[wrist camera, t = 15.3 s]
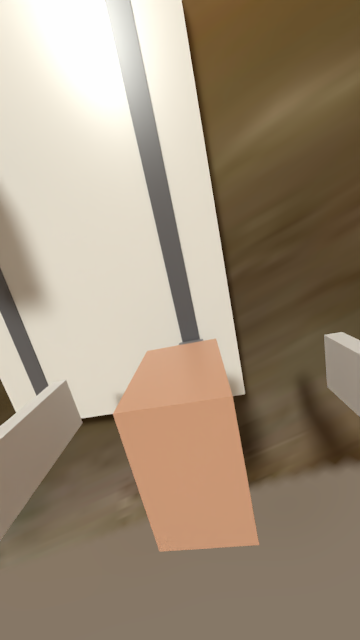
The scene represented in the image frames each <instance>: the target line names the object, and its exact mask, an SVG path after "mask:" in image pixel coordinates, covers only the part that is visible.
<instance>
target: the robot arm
mask: <svg viewBox="0 0 360 640" xmlns="http://www.w3.org/2000/svg"><path fill="white" fill-rule="evenodd" d="M324 340H325V357H326V375H327V387H328V388H329V389H330V390H331V391H332V392H333V393H334V394H335V395H337V396H338V397H339V398H340V399H341V400H342V401H343V402H344V403H345V404H346V405H347V406H348V407H350V408H351V409H352V410H353V411H354V412H355V413H356V414H357V415H358V416H359V417H360V340H358V339H356V338H354V337H352V336H349V335H347V334H345V333H343V332H339V333H333V334H327V335H324ZM82 423H83V422H82V420H81V417H80V415H79V412H78V409H77V407H76V404H75V402H74V399H73V396H72V394H71V391H70V389H69V386H68V383H67V381H66V380H61V381H56V382H52V383H51V384H50V385H49V386H48V387H46V388H45V389H44V390H43V391H42V392H41V393H39V394H38V395H37V396H36V397H35V398H33V399H32V400H31V401H30V402H29V403H27V404H26V405H25V406H24V407H23V408H21V409H20V410H19V411H18V412H17V413H16V414H14V415H13V416H12V417H11V418H10V419H8V420H7V421H6V422H5V423H4V424H2V425H1V426H0V540H1V539H2V537H3V536H4V534H5V533H6V531H7V530H8V529H9V527H10V526H11V524H12V523H13V521H14V520H15V519H16V517H17V516H18V514H19V513H20V511H21V510H22V509H23V507H24V506H25V504H26V503H27V501H28V500H29V499H30V497H31V496H32V494H33V493H34V491H35V490H36V489H37V487H38V486H39V484H40V483H41V481H42V480H43V479H44V477H45V476H46V474H47V473H48V471H49V470H50V469H51V467H52V466H53V464H54V463H55V461H56V460H57V459H58V457H59V456H60V454H61V453H62V451H63V450H64V449H65V447H66V446H67V444H68V443H69V441H70V440H71V439H72V437H73V436H74V434H75V433H76V431H77V430H78V429H79V427H80V426H81V424H82Z"/></svg>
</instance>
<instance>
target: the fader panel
mask: <svg viewBox="0 0 360 640" xmlns="http://www.w3.org/2000/svg"><path fill="white" fill-rule="evenodd" d="M198 339H203V341H205V340H210V339H216V340H217V343H218V347H219V350H220V354H221V357H222V361H223V364H224V368H225V371H226V375H227V378H228V382H229V385H230V389H231V392H232V396H237V395H244V394H245V389H244V383H243V377H242V371H241V364H240V358H239V352H238V346H237V340H236V334H235V327H234V321H233V315H232V309H231V303H230V297H229V290H228V284H227V278H226V272H225V266H224V259H223V253H222V247H221V241H220V235H219V229H218V222H217V216H216V210H215V204H214V198H213V192H212V185H211V179H210V173H209V167H208V161H207V154H206V148H205V142H204V136H203V130H202V124H201V117H200V111H199V105H198V99H197V93H196V87H195V80H194V74H193V68H192V62H191V56H190V50H189V43H188V37H187V31H186V25H185V19H184V12H183V6H182V0H0V379H1V381H2V383H3V385H4V387H5V390H6V392H7V394H8V396H9V398H10V400H11V402H12V405H13V407H14V409H15V411H16V413H17V412H18V411H19V410H20V409H21V408H23V407H24V406H25V405H26V404H27V403H29V402H30V401H31V400H32V399H33V398H35V397H36V396H37V395H38V394H39V393H41V392H42V391H43V390H44V389H45V388H46V387H48V386H49V385H50V384H51V383H52V382H56V381H61V380H66V381H67V383H68V386H69V389H70V391H71V394H72V396H73V399H74V402H75V404H76V407H77V409H78V412H79V415H80V417H81V418H88V417H95V416H101V415H108V414H113V413H114V411H115V409H116V407H117V405H118V403H119V402H120V400H121V398H122V396H123V394H124V392H125V391H126V389H127V387H128V385H129V383H130V381H131V379H132V378H133V376H134V374H135V372H136V370H137V368H138V367H139V365H140V363H141V361H142V359H143V357H144V356H145V354H146V352H147V351H150V350H155V349H161V348H166V347H172V346H177V345H179V343H181V342H187V341H192V340H198Z"/></svg>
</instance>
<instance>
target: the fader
mask: <svg viewBox="0 0 360 640" xmlns="http://www.w3.org/2000/svg"><path fill="white" fill-rule="evenodd" d="M113 416H114V419H115V422H116V425H117V428H118V431H119V434H120V437H121V439H122V442H123V445H124V448H125V451H126V454H127V457H128V460H129V463H130V466H131V469H132V472H133V475H134V478H135V481H136V484H137V487H138V489H139V492H140V495H141V498H142V501H143V504H144V507H145V510H146V513H147V516H148V519H149V522H150V525H151V528H152V531H153V533H154V537H155V539H156V542H157V545H158V548H159V551H174V550H191V549H206V548H221V547H235V546H250V545H259V541H258V535H257V530H256V524H255V518H254V513H253V507H252V502H251V496H250V490H249V485H248V479H247V474H246V468H245V462H244V457H243V451H242V446H241V440H240V434H239V429H238V423H237V418H236V412H235V406H234V401H233V396H232V392H231V389H230V385H229V382H228V378H227V375H226V371H225V368H224V364H223V361H222V357H221V354H220V350H219V347H218V343H217V340H216V339H210V340H205V341H203V339H198V340H192V341H187V342H181V343H179V345H177V346H172V347H166V348H161V349H155V350H150V351H147V352H146V354H145V356H144V357H143V359H142V361H141V363H140V365H139V367H138V368H137V370H136V372H135V374H134V376H133V378H132V379H131V381H130V383H129V385H128V387H127V389H126V391H125V392H124V394H123V396H122V398H121V400H120V402H119V403H118V405H117V407H116V409H115V411H114V413H113Z"/></svg>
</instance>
